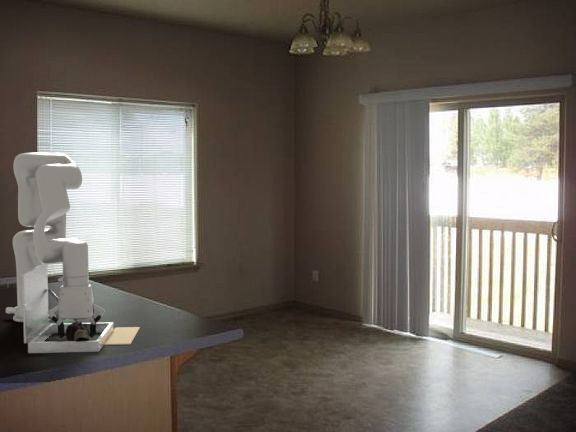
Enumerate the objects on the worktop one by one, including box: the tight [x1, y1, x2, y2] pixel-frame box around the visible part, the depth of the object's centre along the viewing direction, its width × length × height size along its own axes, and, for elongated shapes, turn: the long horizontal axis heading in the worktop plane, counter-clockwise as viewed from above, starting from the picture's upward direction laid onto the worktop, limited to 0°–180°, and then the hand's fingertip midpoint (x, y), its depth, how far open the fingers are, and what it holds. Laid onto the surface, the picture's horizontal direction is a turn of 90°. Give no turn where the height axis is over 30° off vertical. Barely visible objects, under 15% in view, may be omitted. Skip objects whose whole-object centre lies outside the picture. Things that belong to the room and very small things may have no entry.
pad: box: [103, 326, 141, 346], centre depth 199 cm, size 8×20×1 cm, turn 5°
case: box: [22, 263, 115, 354], centre depth 192 cm, size 21×23×23 cm
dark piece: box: [65, 321, 91, 341], centre depth 191 cm, size 18×7×6 cm, turn 20°
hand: (77, 336), depth 193 cm, fingers open, 8 cm apart
